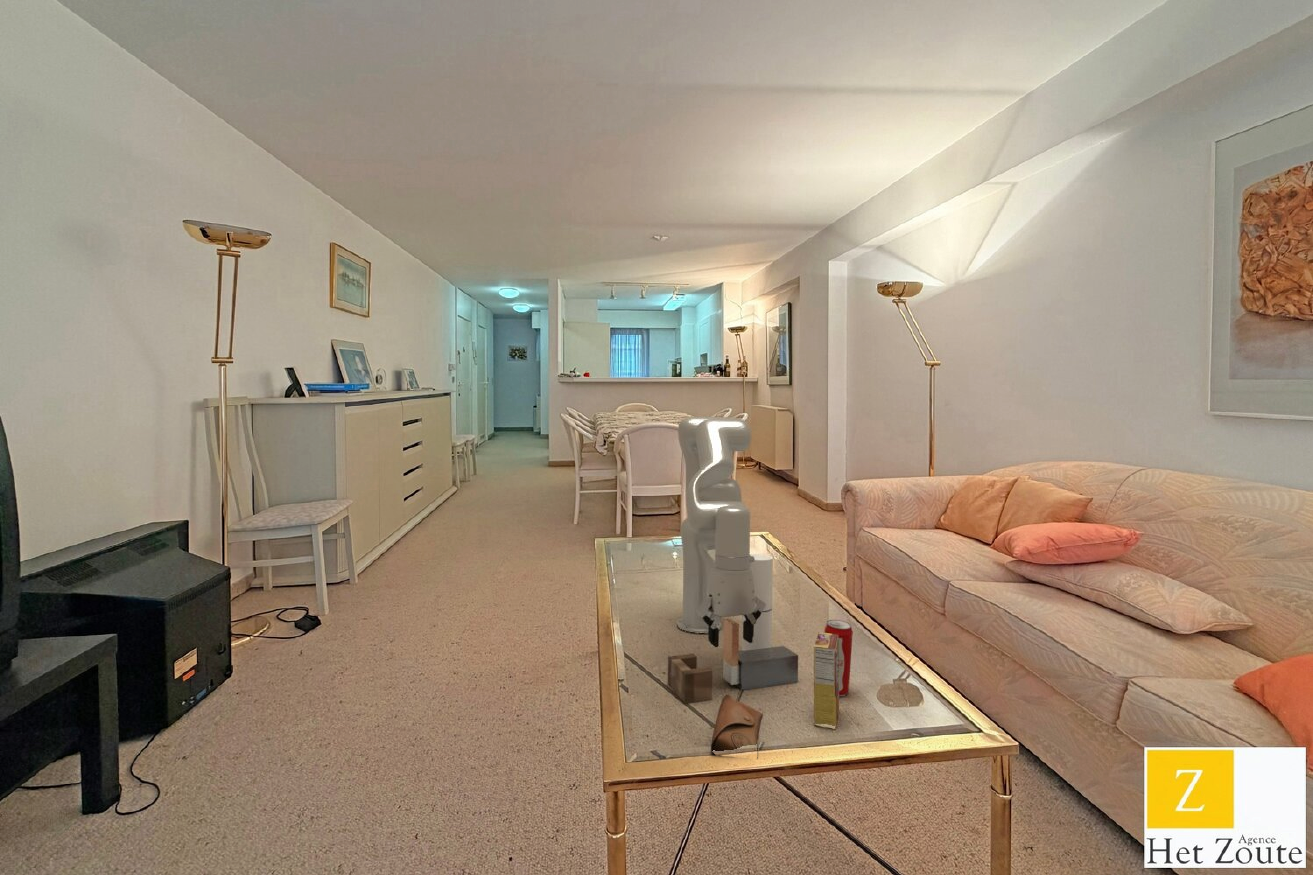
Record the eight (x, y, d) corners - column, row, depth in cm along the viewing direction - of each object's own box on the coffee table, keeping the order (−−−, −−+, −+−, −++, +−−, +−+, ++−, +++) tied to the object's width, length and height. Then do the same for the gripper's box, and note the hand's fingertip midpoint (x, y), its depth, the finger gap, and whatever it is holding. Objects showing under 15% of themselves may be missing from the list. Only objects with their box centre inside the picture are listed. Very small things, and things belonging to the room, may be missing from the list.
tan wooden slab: (723, 677, 130) (724, 619, 130) (778, 669, 135) (778, 613, 135) (731, 684, 126) (732, 624, 126) (787, 676, 131) (788, 618, 131)
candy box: (817, 705, 119) (818, 631, 119) (839, 709, 118) (840, 634, 117) (811, 725, 111) (813, 645, 111) (835, 730, 109) (836, 648, 109)
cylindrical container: (771, 665, 140) (772, 560, 140) (741, 662, 141) (742, 559, 141) (771, 654, 147) (772, 555, 147) (742, 651, 148) (744, 553, 148)
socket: (667, 683, 129) (668, 656, 129) (692, 680, 131) (693, 653, 131) (685, 703, 119) (685, 674, 119) (711, 699, 121) (712, 670, 121)
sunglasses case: (761, 761, 98) (741, 724, 99) (724, 777, 100) (705, 741, 100) (763, 712, 116) (746, 681, 117) (732, 726, 117) (716, 696, 118)
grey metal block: (729, 679, 132) (729, 652, 132) (783, 671, 136) (783, 645, 136) (741, 690, 126) (742, 662, 126) (797, 681, 131) (798, 655, 131)
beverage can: (829, 683, 130) (830, 616, 130) (857, 692, 125) (858, 623, 125) (815, 691, 126) (816, 621, 126) (843, 701, 121) (844, 629, 121)
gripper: (758, 556, 135) (757, 633, 135) (688, 561, 129) (687, 641, 129) (775, 563, 128) (774, 644, 128) (702, 568, 122) (701, 653, 122)
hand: (731, 642), depth 128 cm, fingers open, 7 cm apart
